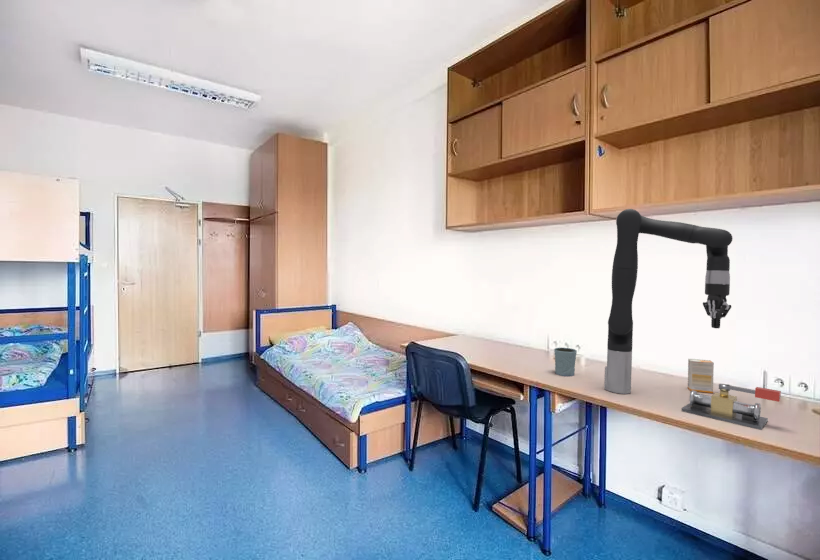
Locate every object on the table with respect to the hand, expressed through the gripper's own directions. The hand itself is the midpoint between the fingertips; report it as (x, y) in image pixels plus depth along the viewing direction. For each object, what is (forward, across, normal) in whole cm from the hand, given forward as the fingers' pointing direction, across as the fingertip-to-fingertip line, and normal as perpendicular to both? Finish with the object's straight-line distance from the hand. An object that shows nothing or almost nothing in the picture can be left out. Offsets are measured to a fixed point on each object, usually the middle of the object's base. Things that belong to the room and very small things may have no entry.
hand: (715, 328), depth 156 cm
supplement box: (+29, -17, +6) cm, 34 cm away
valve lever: (+20, +19, -1) cm, 27 cm away
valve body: (+29, +14, -6) cm, 33 cm away
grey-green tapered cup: (+29, -38, -44) cm, 65 cm away
